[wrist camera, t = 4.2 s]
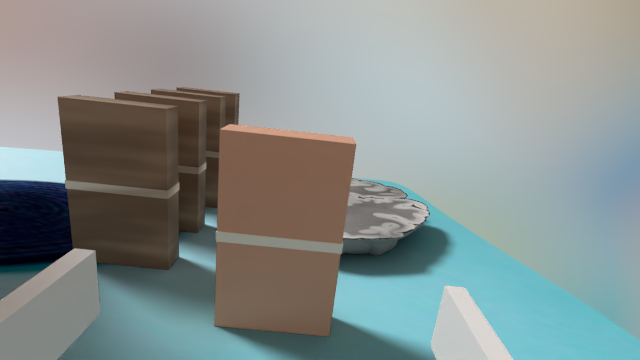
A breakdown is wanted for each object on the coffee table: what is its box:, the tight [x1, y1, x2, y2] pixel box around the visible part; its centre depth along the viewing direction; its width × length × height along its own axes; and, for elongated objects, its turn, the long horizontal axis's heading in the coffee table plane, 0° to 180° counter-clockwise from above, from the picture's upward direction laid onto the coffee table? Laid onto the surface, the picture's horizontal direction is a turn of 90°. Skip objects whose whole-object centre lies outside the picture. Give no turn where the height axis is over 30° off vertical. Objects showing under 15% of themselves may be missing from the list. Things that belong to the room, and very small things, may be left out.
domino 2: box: [115, 91, 207, 233], centre depth 32 cm, size 2×7×12 cm, turn 90°
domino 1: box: [58, 95, 179, 270], centre depth 25 cm, size 2×7×12 cm, turn 90°
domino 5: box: [214, 124, 356, 337], centre depth 21 cm, size 2×7×12 cm, turn 90°
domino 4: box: [151, 89, 226, 208], centre depth 38 cm, size 2×7×12 cm, turn 90°
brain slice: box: [342, 178, 430, 255], centre depth 39 cm, size 20×17×3 cm
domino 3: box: [177, 87, 239, 126], centre depth 44 cm, size 2×7×12 cm, turn 90°
